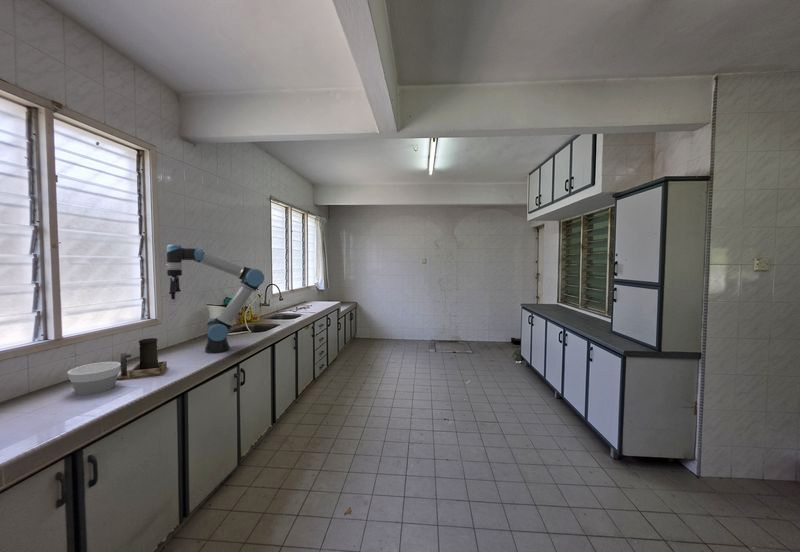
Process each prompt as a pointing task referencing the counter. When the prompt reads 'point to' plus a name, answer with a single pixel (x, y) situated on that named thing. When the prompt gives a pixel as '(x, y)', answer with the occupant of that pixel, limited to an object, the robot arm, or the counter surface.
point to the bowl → (94, 377)
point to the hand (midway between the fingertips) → (175, 303)
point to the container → (148, 354)
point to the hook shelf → (136, 371)
